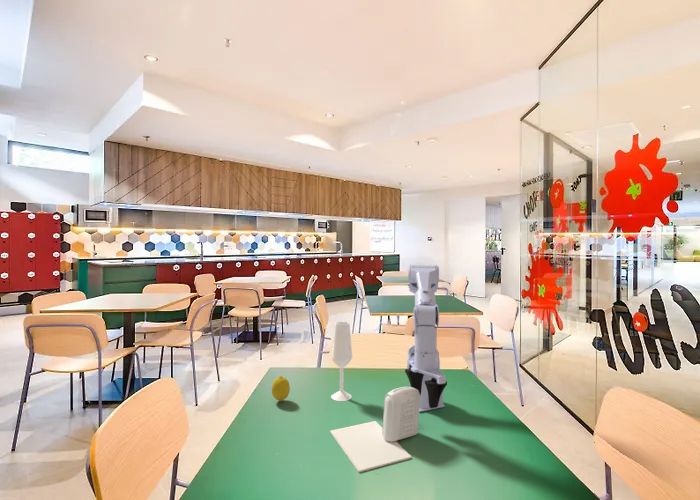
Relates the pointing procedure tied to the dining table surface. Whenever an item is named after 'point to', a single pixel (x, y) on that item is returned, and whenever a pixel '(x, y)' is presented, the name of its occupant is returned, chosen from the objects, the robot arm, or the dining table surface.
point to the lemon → (280, 388)
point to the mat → (368, 446)
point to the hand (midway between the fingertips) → (424, 401)
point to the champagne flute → (341, 355)
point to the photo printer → (401, 413)
